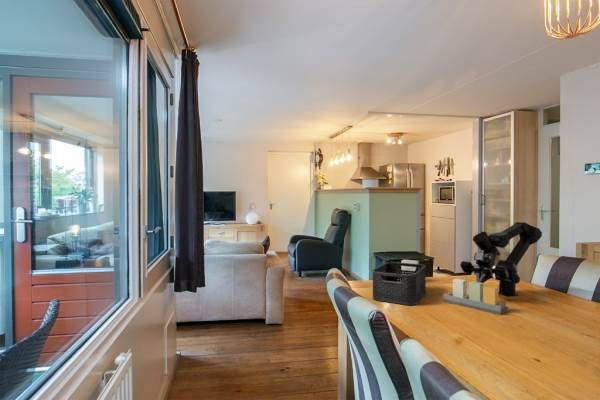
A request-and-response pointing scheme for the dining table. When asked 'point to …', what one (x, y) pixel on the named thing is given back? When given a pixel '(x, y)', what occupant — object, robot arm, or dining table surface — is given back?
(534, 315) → the dining table surface
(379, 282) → the storage bin
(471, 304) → the grey divided tray
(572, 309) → the dining table surface
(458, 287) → the white rectangular block
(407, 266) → the ink box
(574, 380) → the dining table surface
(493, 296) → the orange block
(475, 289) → the pale green tall block
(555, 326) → the dining table surface
